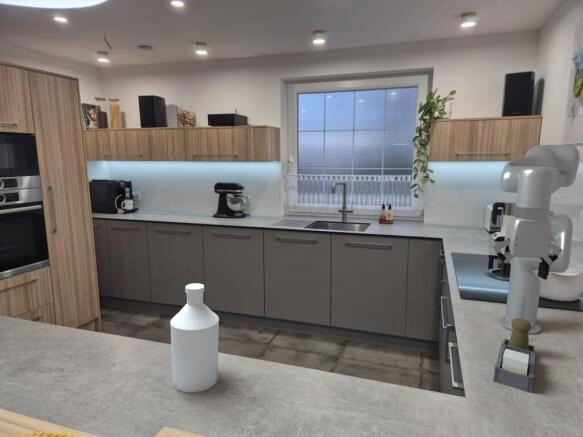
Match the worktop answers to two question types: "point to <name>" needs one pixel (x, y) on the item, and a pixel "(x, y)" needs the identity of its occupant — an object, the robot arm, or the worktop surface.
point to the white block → (515, 361)
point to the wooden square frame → (531, 348)
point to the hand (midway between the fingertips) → (523, 277)
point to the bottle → (194, 343)
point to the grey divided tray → (514, 377)
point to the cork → (520, 333)
